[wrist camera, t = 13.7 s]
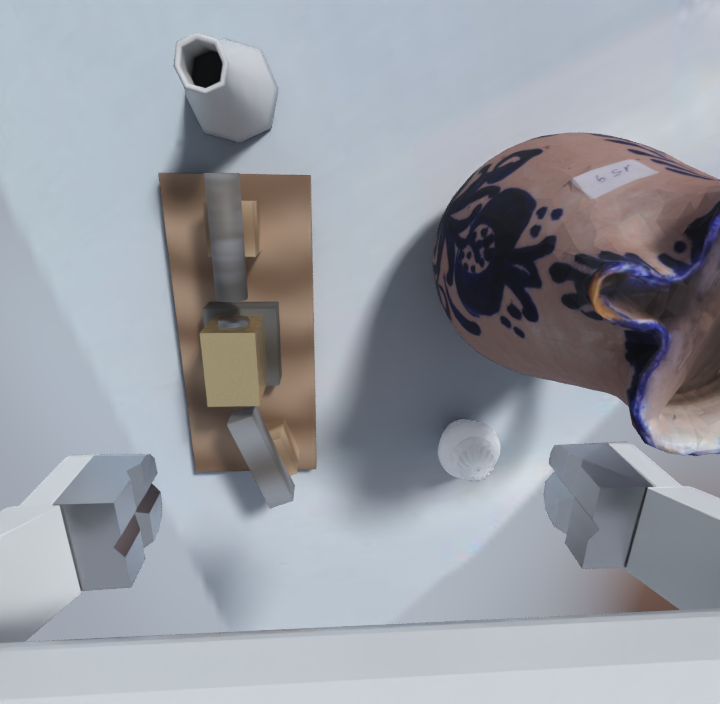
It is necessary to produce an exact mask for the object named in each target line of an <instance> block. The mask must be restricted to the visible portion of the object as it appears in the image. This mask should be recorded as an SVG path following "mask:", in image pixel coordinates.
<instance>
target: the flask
mask: <svg viewBox="0 0 720 704" xmlns="http://www.w3.org/2000/svg"><path fill="white" fill-rule="evenodd" d="M174 68H175V70H176V72H177V74H178V76H179V78H180V80H181V82H182V84H183V86H184V88H185V89H186V97H187V100H188V102H189V104H190V106H191V108H192V110H193V112H194V114H195V116H196V118H197V120H198V122H199V124H200V126H201V128H202V130H203V132H204V133H206V134H209V135H213V136H217V137H221V138H224V139H228V140H232V141H235V142H239V143H240V142H242V141H244V140H247V139H249V138H251V137H253V136H255V135H257V134H260V133H262V132H264V131H266V130H268V129H270V128H272V123H273V117H274V111H275V106H276V100H277V94H278V87H277V85H276V82H275V80H274V78H273V75H272V73H271V71H270V68H269V66H268V64H267V61H266V59H265V56H264V54H263V52H262V50H260V49H257V48H254V47H251V46H247V45H244V44H241V43H237V42H234V41H231V40H227V39H222V40H220V41H219V40H218V39H216V38H213V37H209V36H206V35H203V34H199V33H196V32H195V33H193V34H191V35H189V36H187V37H185V38H183V39H181V40H179V41H177V42H176V49H175V58H174Z"/></svg>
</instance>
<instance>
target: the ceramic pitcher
mask: <svg viewBox="0 0 720 704" xmlns="http://www.w3.org/2000/svg"><path fill="white" fill-rule="evenodd" d="M433 271H434V279H435V283H436V287H437V291H438V295H439V298H440V301H441V303H442V305H443V308H444V310H445V312H446V314H447V316H448V317H449V319H450V321H451V323H452V325H453V326H454V328H455V329H456V330H457V332H458V333H459V334H460V335H461V337H462V338H463V339H464V340H465V341H466V342H467V343H468V344H469V345H470V346H471V347H472V348H473V349H475V350H476V351H477V352H479V353H480V354H482V355H483V356H484V357H486V358H488V359H490V360H492V361H494V362H496V363H498V364H500V365H502V366H504V367H506V368H508V369H511V370H513V371H516V372H519V373H522V374H526V375H530V376H534V377H537V378H542V379H547V380H552V381H556V382H560V383H565V384H570V385H575V386H579V387H583V388H587V389H592V390H596V391H601V392H606V393H609V394H612V395H614V396H616V397H618V398H619V399H620V400H622V401H623V402H624V403H625V404H626V405H628V407H629V410H630V416H631V420H632V425H633V426H634V428H635V429H636V431H637V432H638V434H639V435H640V437H641V438H642V440H643V441H644V443H646V444H648V445H650V446H652V447H655V448H657V449H659V450H662V451H664V452H667V453H671V454H678V455H693V456H699V455H705V454H720V179H717V178H715V177H713V176H710V175H708V174H706V173H703V172H701V171H699V170H697V169H695V168H693V167H691V166H688V165H686V164H684V163H683V162H681V161H679V160H677V159H675V158H673V157H672V156H670V155H668V154H666V153H664V152H661V151H659V150H656V149H653V148H651V147H648V146H646V145H643V144H639V143H636V142H632V141H629V140H626V139H622V138H618V137H613V136H608V135H602V134H592V133H563V134H555V135H547V136H541V137H537V138H534V139H530V140H528V141H525V142H523V143H520V144H518V145H515V146H513V147H511V148H509V149H507V150H505V151H503V152H502V153H500V154H499V155H497V156H495V157H494V158H492V159H490V160H489V161H488V162H487V163H485V164H484V165H483V166H482V167H480V168H479V169H478V170H477V171H475V172H474V173H473V174H472V175H471V176H470V178H469V179H468V180H467V181H466V182H465V183H464V184H463V186H462V187H461V188H460V189H459V190H458V192H457V193H456V194H455V195H454V196H453V198H452V200H451V201H450V203H449V205H448V206H447V208H446V211H445V213H444V215H443V217H442V219H441V222H440V225H439V228H438V232H437V235H436V239H435V244H434V248H433Z"/></svg>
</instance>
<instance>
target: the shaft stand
mask: <svg viewBox="0 0 720 704" xmlns="http://www.w3.org/2000/svg"><path fill="white" fill-rule="evenodd" d="M158 174H159V182H160V190H161V198H162V206H163V214H164V222H165V230H166V238H167V246H168V254H169V262H170V270H171V278H172V286H173V294H174V302H175V310H176V318H177V325H178V333H179V341H180V349H181V357H182V365H183V373H184V381H185V389H186V397H187V405H188V413H189V421H190V429H191V437H192V445H193V453H194V461H195V469H196V472H220V471H251V473H252V475H253V477H254V479H255V481H256V482H257V484H258V486H259V488H260V490H261V492H262V494H263V496H264V498H265V500H266V502H267V504H268V506H269V508H273V507H276V506H279V505H282V504H285V503H288V502H291V501H293V496H294V487H295V485H294V483H293V481H292V479H291V477H290V476H291V475H294V474H297V470H300V469H316V412H315V363H314V313H313V264H312V215H311V175H265V174H239V173H204V174H203V173H158ZM214 315H264V328H265V345H266V363H267V384H266V387H265V390H264V394H263V397H262V400H261V404H260V406H228V407H208V406H207V396H206V387H205V378H204V369H203V360H202V350H201V341H200V332H201V331H202V330H203V329H204V327H205V326H206V325H207V324H208V323H209V321H210V320H211V319H212V318H213V317H214Z"/></svg>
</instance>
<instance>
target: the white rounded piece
mask: <svg viewBox="0 0 720 704" xmlns="http://www.w3.org/2000/svg"><path fill="white" fill-rule="evenodd" d="M439 441H440V442H439V446H438V457H439V461H440V463H441V465H442V467H443V468H444V469H445V470H446V471H447V472H448V473H449V474H450V475H452V476H454V477H457V478H460V479H468V480H470V481H473V480H475V481H479V480H480V479H485V477H486V476H487V475H490V471H493V470H494V468H493V467H494V466H495V465H496V463H497V461H498V459H499V455H500V442H499V439H498V437H497V435H496V434H495V432H494V431H493V430H492V429H491V428H490V427H489V426H487V425H485V424H483V423H479V422H478V421H474V420H468V419H460V420H456V421H455V420H454V422H451V424H449V425H448V426H447V428H446V429H445V431H444V432H443V434H442V436H441V438H440V440H439Z"/></svg>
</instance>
